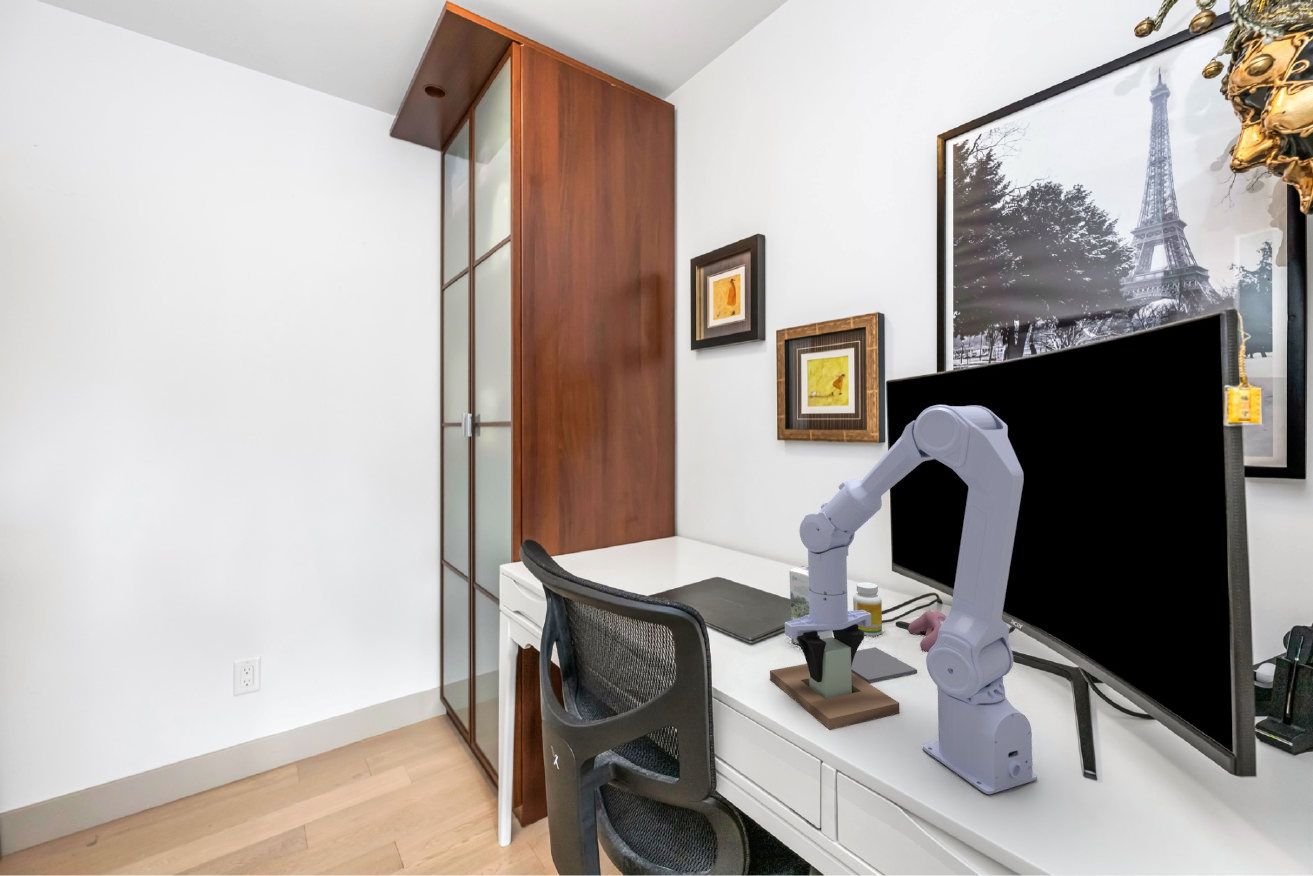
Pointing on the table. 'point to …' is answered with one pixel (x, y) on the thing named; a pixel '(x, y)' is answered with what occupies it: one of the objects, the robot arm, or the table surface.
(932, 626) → the video game controller
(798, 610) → the syrup box
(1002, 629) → the robot arm
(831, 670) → the sage block
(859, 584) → the supplement bottle
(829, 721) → the board
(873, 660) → the charcoal mat
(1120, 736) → the table surface
